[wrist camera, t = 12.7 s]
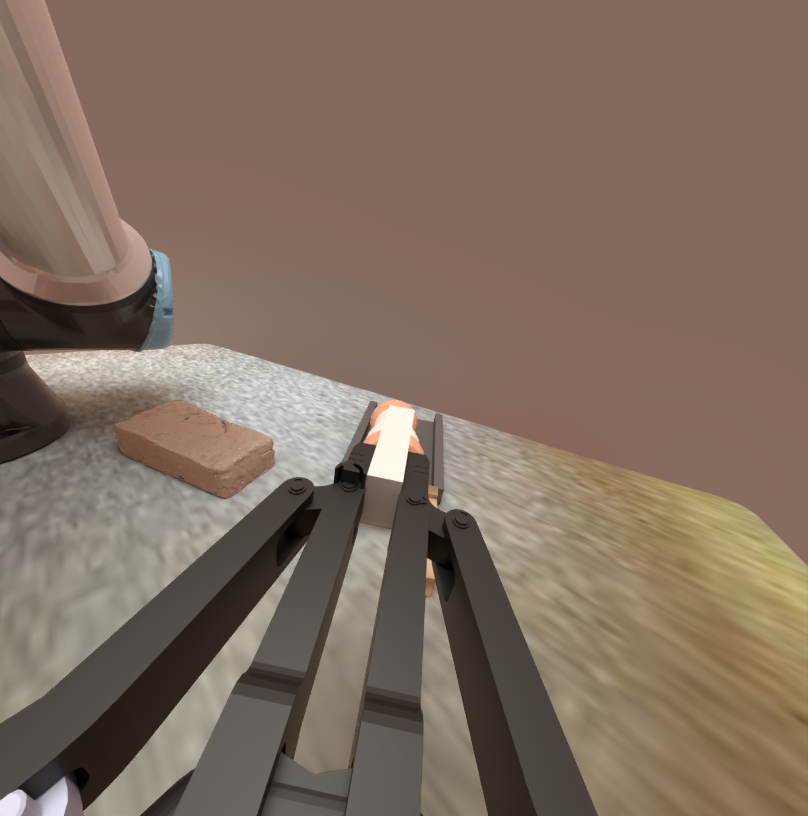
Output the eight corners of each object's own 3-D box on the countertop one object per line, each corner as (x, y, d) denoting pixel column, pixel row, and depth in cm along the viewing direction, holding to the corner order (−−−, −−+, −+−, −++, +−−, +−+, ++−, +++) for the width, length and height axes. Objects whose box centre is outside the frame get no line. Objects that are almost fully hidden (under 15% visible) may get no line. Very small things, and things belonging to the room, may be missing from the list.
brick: (278, 463, 42) (277, 433, 39) (226, 504, 34) (222, 469, 32) (182, 426, 45) (176, 396, 43) (116, 455, 38) (106, 422, 36)
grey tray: (439, 504, 39) (443, 489, 38) (336, 484, 39) (338, 468, 38) (439, 426, 57) (442, 414, 56) (369, 412, 57) (370, 400, 56)
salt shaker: (344, 494, 32) (365, 431, 50) (412, 515, 33) (408, 445, 51) (366, 429, 30) (379, 388, 49) (437, 453, 31) (423, 403, 49)
